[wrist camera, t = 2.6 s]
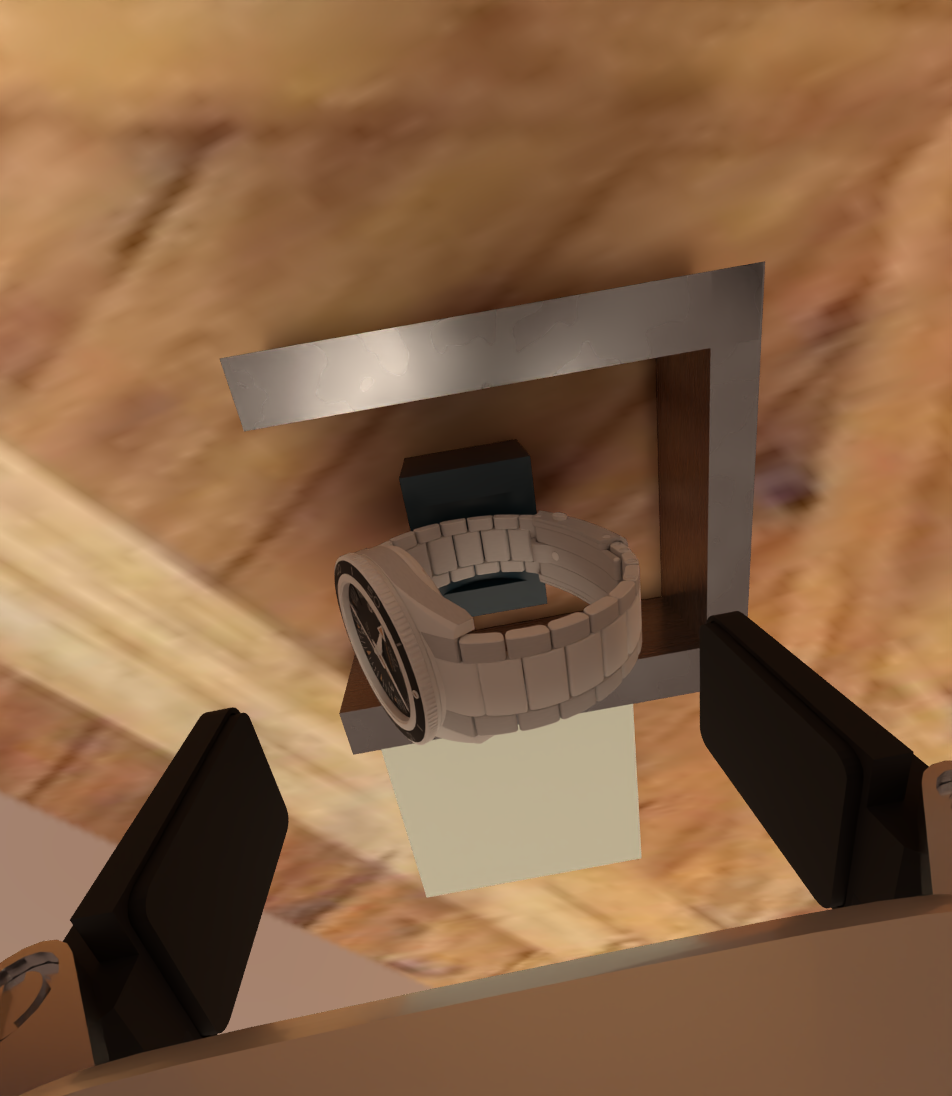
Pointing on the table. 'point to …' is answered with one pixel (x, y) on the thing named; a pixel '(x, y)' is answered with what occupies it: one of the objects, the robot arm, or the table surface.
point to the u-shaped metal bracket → (560, 348)
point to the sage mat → (520, 801)
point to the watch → (487, 602)
